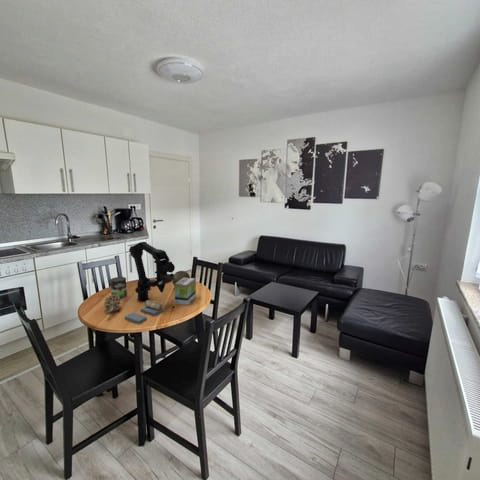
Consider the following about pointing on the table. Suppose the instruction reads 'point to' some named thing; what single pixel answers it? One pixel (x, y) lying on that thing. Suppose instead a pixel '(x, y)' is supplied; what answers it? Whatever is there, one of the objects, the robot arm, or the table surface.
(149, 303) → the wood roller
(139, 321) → the slate board
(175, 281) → the cantaloupe
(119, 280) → the coffee can
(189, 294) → the tea box
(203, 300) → the table surface
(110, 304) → the pine cone
